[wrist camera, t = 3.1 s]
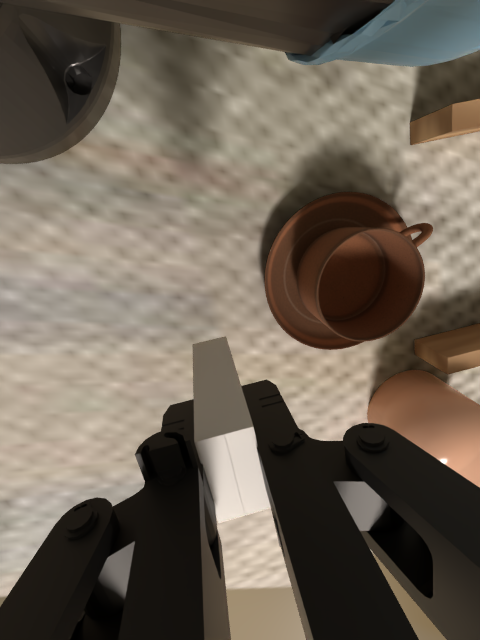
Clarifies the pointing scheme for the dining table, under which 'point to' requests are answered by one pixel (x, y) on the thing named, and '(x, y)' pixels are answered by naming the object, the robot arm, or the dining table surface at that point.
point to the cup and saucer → (344, 271)
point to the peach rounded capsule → (431, 419)
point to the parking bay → (475, 340)
